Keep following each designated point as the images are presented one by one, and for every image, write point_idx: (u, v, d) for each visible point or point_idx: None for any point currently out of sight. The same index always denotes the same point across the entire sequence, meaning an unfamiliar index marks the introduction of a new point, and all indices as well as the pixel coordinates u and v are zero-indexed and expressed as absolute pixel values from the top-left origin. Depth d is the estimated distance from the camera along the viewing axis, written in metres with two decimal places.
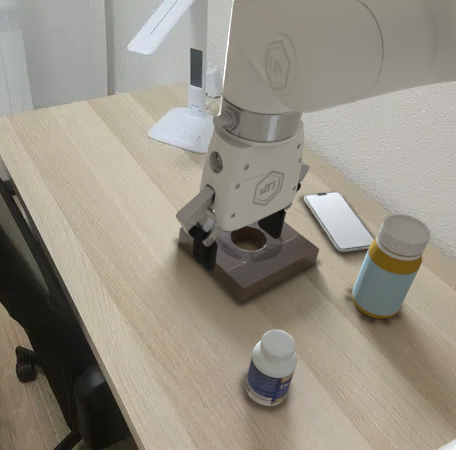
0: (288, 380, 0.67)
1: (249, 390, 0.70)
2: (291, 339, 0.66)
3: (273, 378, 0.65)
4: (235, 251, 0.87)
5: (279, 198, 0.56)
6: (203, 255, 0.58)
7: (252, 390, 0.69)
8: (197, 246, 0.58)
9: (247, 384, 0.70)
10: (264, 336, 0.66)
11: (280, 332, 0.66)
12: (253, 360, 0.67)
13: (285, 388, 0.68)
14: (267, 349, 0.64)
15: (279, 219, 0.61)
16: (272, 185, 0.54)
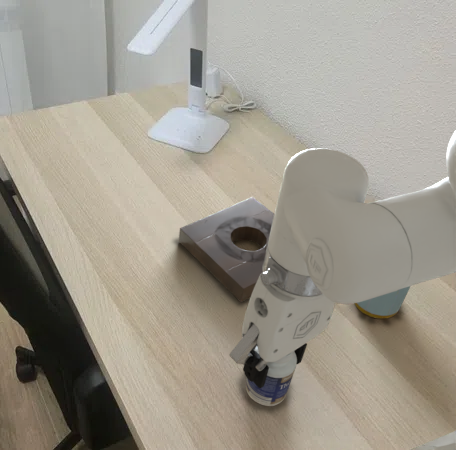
0: (288, 380, 0.67)
1: (249, 390, 0.70)
2: None
3: (273, 378, 0.65)
4: (235, 251, 0.87)
5: (315, 329, 0.62)
6: (255, 376, 0.65)
7: (252, 390, 0.69)
8: (249, 368, 0.65)
9: (247, 384, 0.70)
10: None
11: None
12: None
13: (285, 388, 0.68)
14: None
15: (300, 350, 0.67)
16: (310, 322, 0.60)
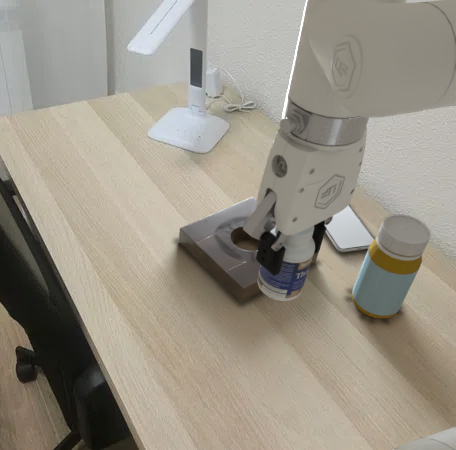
0: (305, 268, 0.61)
1: (262, 284, 0.64)
2: None
3: (289, 263, 0.59)
4: (235, 251, 0.87)
5: (338, 201, 0.56)
6: (270, 259, 0.59)
7: (265, 283, 0.63)
8: (264, 251, 0.59)
9: (260, 278, 0.64)
10: None
11: None
12: None
13: (302, 278, 0.62)
14: None
15: (319, 234, 0.61)
16: (333, 189, 0.54)
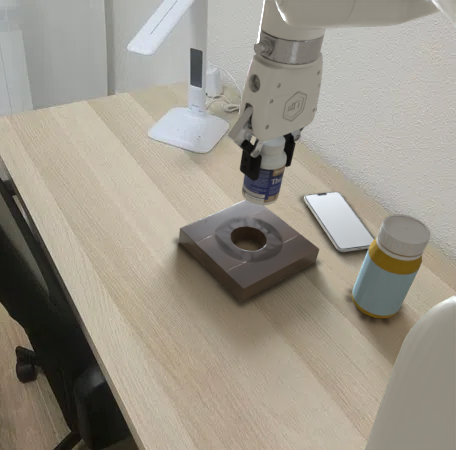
0: (279, 175, 0.76)
1: (245, 192, 0.79)
2: (281, 136, 0.75)
3: (265, 170, 0.75)
4: (235, 251, 0.87)
5: (302, 117, 0.71)
6: (250, 166, 0.74)
7: (247, 190, 0.78)
8: (245, 160, 0.74)
9: (243, 188, 0.79)
10: None
11: None
12: None
13: (276, 185, 0.77)
14: None
15: (290, 149, 0.76)
16: (297, 104, 0.69)
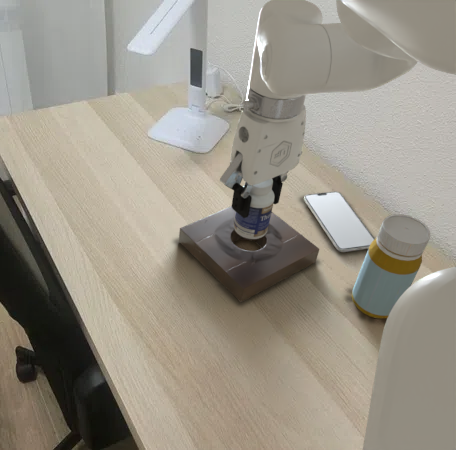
0: (267, 212, 0.83)
1: (236, 227, 0.86)
2: None
3: (255, 208, 0.82)
4: (235, 251, 0.87)
5: (288, 162, 0.78)
6: (240, 205, 0.81)
7: (238, 225, 0.85)
8: (236, 199, 0.81)
9: (235, 222, 0.86)
10: None
11: None
12: None
13: (265, 221, 0.84)
14: None
15: (277, 189, 0.83)
16: (283, 151, 0.76)
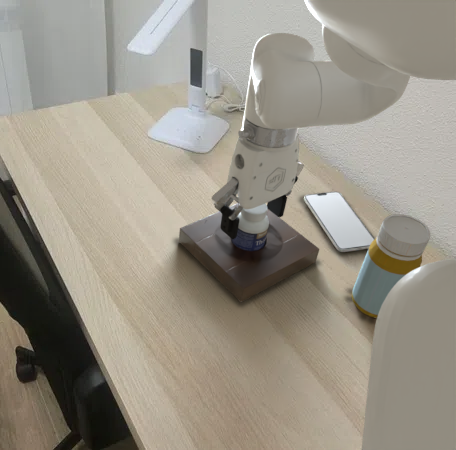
0: (262, 237, 0.86)
1: None
2: (264, 204, 0.85)
3: (250, 234, 0.85)
4: (235, 251, 0.87)
5: (282, 186, 0.81)
6: (229, 227, 0.82)
7: None
8: (224, 221, 0.82)
9: None
10: None
11: None
12: None
13: (260, 245, 0.87)
14: (245, 210, 0.84)
15: (282, 202, 0.86)
16: (277, 177, 0.79)
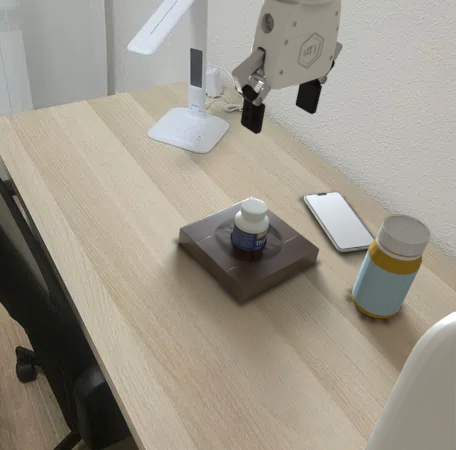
0: (262, 237, 0.86)
1: None
2: (264, 204, 0.85)
3: (250, 234, 0.85)
4: (235, 251, 0.87)
5: (318, 64, 0.65)
6: (252, 117, 0.67)
7: None
8: (246, 110, 0.67)
9: None
10: (243, 202, 0.85)
11: (256, 200, 0.86)
12: (235, 222, 0.86)
13: (260, 245, 0.87)
14: (245, 210, 0.84)
15: (316, 93, 0.71)
16: (313, 49, 0.63)
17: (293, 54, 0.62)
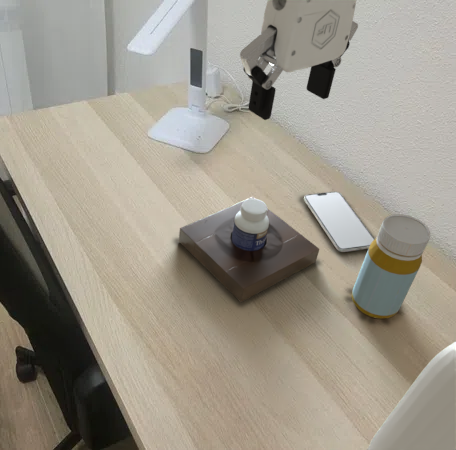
0: (262, 237, 0.86)
1: None
2: (264, 204, 0.85)
3: (250, 234, 0.85)
4: (235, 251, 0.87)
5: (333, 45, 0.61)
6: (261, 101, 0.62)
7: None
8: (255, 94, 0.63)
9: None
10: (243, 202, 0.85)
11: (256, 200, 0.86)
12: (235, 222, 0.86)
13: (260, 245, 0.87)
14: (245, 210, 0.84)
15: (329, 76, 0.66)
16: (328, 27, 0.59)
17: (307, 33, 0.57)
